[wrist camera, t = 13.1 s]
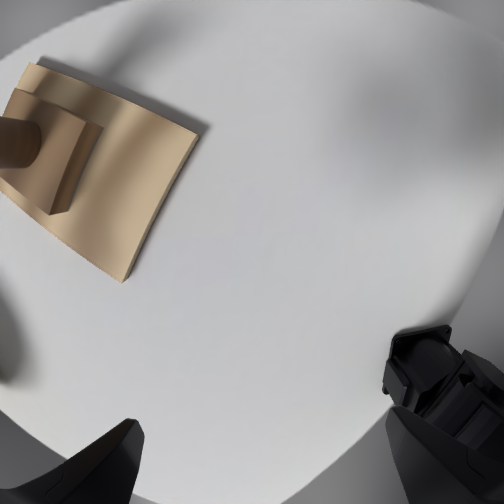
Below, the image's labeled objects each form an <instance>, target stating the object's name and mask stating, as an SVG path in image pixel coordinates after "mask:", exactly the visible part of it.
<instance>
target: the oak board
mask: <svg viewBox="0 0 504 504" xmlns="http://www.w3.org/2000/svg"><path fill="white" fill-rule="evenodd" d="M16 88H17V89H21V90H24V91H28V92H31V93H34V94H36V95H38V96H40V97H42V98H44V99H47V100H49V101H51V102H53V103H55V104H57V105H59V106H61V107H64V108H66V109H68V110H70V111H72V112H74V113H76V114H78V115H80V116H82V117H84V118H86V119H88V120H90V121H92V122H94V123H96V124H98V125H100V126H102V127H104V129H103V131H102V133H101V135H100V137H99V139H98V141H97V143H96V145H95V147H94V149H93V151H92V153H91V155H90V158H89V160H88V162H87V164H86V167H85V169H84V171H83V174H82V176H81V179H80V181H79V183H78V186H77V189H76V191H75V194H74V196H73V199H72V202H71V204H70V207H69V210H68V212H63V213H59V214H54V215H50V216H49V215H47V214H46V213H45V212H43V211H42V210H41V209H39V208H38V207H37V206H36V205H34V204H33V203H32V202H30V201H29V200H28V199H27V198H25V197H24V196H23V195H22V194H20V193H19V192H18V191H17V190H15V189H14V188H13V187H12V186H11V185H9V184H8V183H7V182H6V181H5V180H3V179H2V178H1V177H0V191H1V192H2V193H4V194H5V195H6V196H7V197H8V198H9V199H10V200H11V201H13V202H14V203H15V204H16V205H17V206H18V207H20V208H21V209H22V210H23V211H24V212H25V213H27V214H28V215H29V216H30V217H31V218H33V219H34V220H35V221H36V222H38V223H39V224H40V225H41V226H43V227H44V228H45V229H46V230H48V231H49V232H50V233H52V234H53V235H54V236H55V237H57V238H58V239H59V240H61V241H62V242H63V243H65V244H66V245H67V246H69V247H70V248H71V249H73V250H74V251H75V252H77V253H78V254H80V255H81V256H82V257H84V258H85V259H86V260H88V261H89V262H91V263H92V264H94V265H95V266H96V267H98V268H99V269H101V270H102V271H104V272H105V273H107V274H108V275H110V276H111V277H113V278H114V279H116V280H117V281H119V282H120V283H123V282H124V281H126V280H127V278H128V276H129V274H130V271H131V269H132V267H133V264H134V262H135V260H136V258H137V255H138V253H139V251H140V249H141V247H142V244H143V242H144V240H145V238H146V236H147V234H148V232H149V230H150V227H151V225H152V223H153V221H154V219H155V217H156V215H157V213H158V211H159V209H160V207H161V205H162V203H163V201H164V200H165V198H166V196H167V194H168V192H169V190H170V188H171V186H172V184H173V183H174V181H175V179H176V177H177V175H178V173H179V172H180V170H181V168H182V166H183V164H184V163H185V161H186V159H187V157H188V156H189V154H190V152H191V150H192V149H193V147H194V145H195V144H196V142H197V140H198V139H199V136H198V135H197V134H195V133H193V132H191V131H189V130H187V129H185V128H183V127H181V126H179V125H177V124H175V123H173V122H171V121H169V120H167V119H165V118H163V117H161V116H159V115H157V114H155V113H153V112H151V111H149V110H147V109H144V108H142V107H140V106H138V105H136V104H134V103H131V102H129V101H127V100H125V99H122V98H120V97H118V96H116V95H113V94H111V93H109V92H106V91H104V90H102V89H99V88H97V87H94V86H92V85H90V84H87V83H85V82H82V81H80V80H77V79H74V78H72V77H69V76H67V75H64V74H61V73H59V72H56V71H53V70H50V69H48V68H45V67H42V66H39V65H36V64H33V63H30V62H29V64H28V65H27V67H26V69H25V71H24V73H23V75H22V77H21V79H20V81H19V83H18V85H17V87H16Z"/></svg>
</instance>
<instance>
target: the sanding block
mask: <svg viewBox="0 0 504 504" xmlns="http://www.w3.org/2000/svg"><path fill="white" fill-rule="evenodd" d="M103 129H104V127H102V126H100V125H98V124H96V123H94V122H92V121H90V120H88V119H86V118H84V117H82V116H80V115H78V114H76V113H74V112H72V111H70V110H68V109H66V108H64V107H61V106H59V105H57V104H55V103H53V102H51V101H49V100H47V99H44V98H42V97H40V96H38V95H36V94H34V93H31V92H28V91H24V90H21V89H17V88H15V89H14V91H13V93H12V95H11V97H10V100H9V102H8V104H7V106H6V109H5V111H4V114H3V116H2V117H1V116H0V177H1V178H2V179H3V180H5V181H6V182H7V183H8V184H9V185H11V186H12V187H13V188H14V189H15V190H17V191H18V192H19V193H20V194H22V195H23V196H24V197H25V198H27V199H28V200H29V201H30V202H32V203H33V204H34V205H36V206H37V207H38V208H39V209H41V210H42V211H43V212H45V213H46V214H47V215H49V216H50V215H54V214H59V213H63V212H68V210H69V207H70V204H71V202H72V199H73V196H74V194H75V191H76V189H77V186H78V183H79V181H80V179H81V176H82V174H83V171H84V169H85V167H86V164H87V162H88V160H89V158H90V155H91V153H92V151H93V149H94V147H95V145H96V143H97V141H98V139H99V137H100V135H101V133H102V131H103Z"/></svg>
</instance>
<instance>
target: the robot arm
mask: <svg viewBox="0 0 504 504" xmlns="http://www.w3.org/2000/svg"><path fill="white" fill-rule="evenodd" d="M447 329H448V330H447ZM446 330H447V331H446ZM451 331H452V328H451V327H450V326H449V325H444V326H440V327H435V328H431V329H426V330H421V331H416V332H411V333H406V334H401V335H396V336H395V337H393V339H392V342H391V348H390V353H389V358H388V360H387V362H386V367H385V372H384V377H383V388H382V391H383V393H384V394H385V395H388V394H390V396H391V398H392V400H393V402H394V403H395V405H396V406H394V407H391V408H390V410H389V413H388V416H387V419H386V423H385V426H386V430H387V435H388V439H389V443H390V447H391V452H392V455H393V460H394V463H395V465H396V468H397V471H398V474H399V476H400V479H401V482H402V484H403V487H404V490H405V493H406V496H407V499H408V502H409V504H504V373H503V372H502V371H501V370H499V369H498V368H497V367H496V366H495V365H494V364H492V363H491V362H490V361H488V360H486V359H484V358H482V357H480V356H477V355H476V354H474V353H471V352H469V351H467V350H464V352H463V353H462V355H461V354H460V353H459V352H458V351H456V349H455V348H454V347H452V346H451V344H449V340H450V336H451ZM397 340H399V341H398V342H397V343H396V341H397ZM144 438H145V437H144V432H143V430H142V428H141V426H140V424H139V422H138V421H137V420H136V419H130V418H127V419H125V420H124V421H122V422H121V423H119V424H118V425H117V426H115V427H114V428H113V429H111V430H110V431H108V432H107V433H106V434H104V435H103V436H101V437H100V438H99V439H97V440H96V441H94V442H93V443H91V444H90V445H89V446H87V447H86V448H84V449H83V450H81V451H80V452H78V453H77V454H75V455H74V456H72V457H71V458H69V459H68V460H66V461H65V462H64V463H63V464H60V465H59V466H57V467H56V468H54V469H52V470H51V471H49V472H47V473H45V474H44V475H42V476H40V477H38V478H36V479H34V480H31V481H29V482H27V483H25V484H23V485H20V486H18V487H16V488H11V489H0V504H129V501H130V498H131V495H132V492H133V488H134V485H135V482H136V478H137V475H138V471H139V467H140V461H141V455H142V450H143V444H144Z"/></svg>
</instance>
